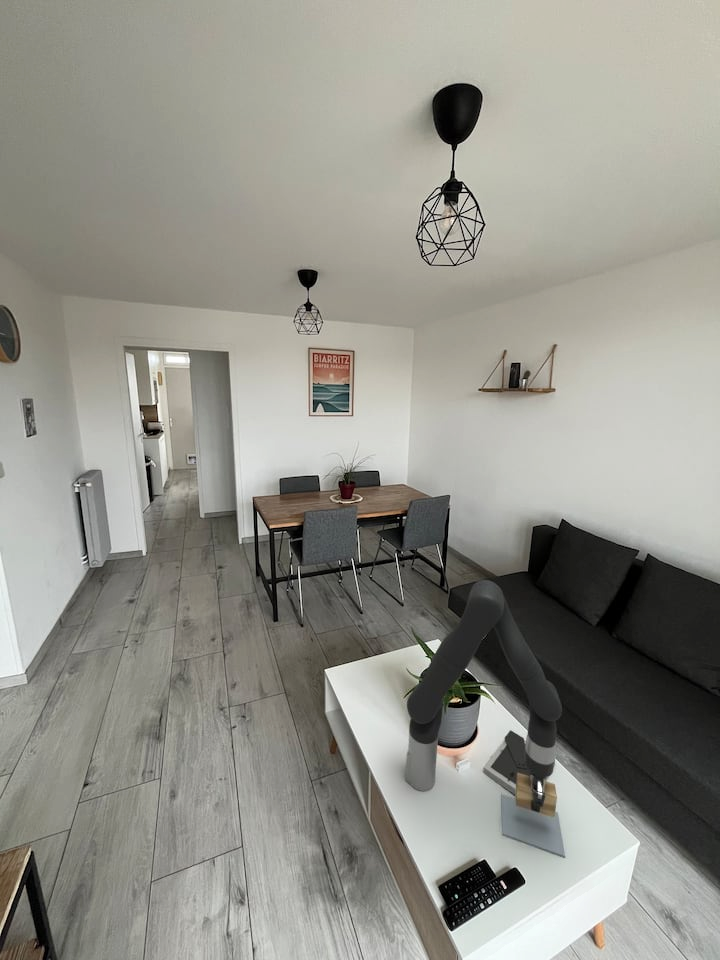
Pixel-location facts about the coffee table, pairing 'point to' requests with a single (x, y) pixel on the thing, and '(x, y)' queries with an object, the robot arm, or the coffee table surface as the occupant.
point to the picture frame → (508, 762)
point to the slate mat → (531, 827)
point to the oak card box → (525, 793)
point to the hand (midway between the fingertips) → (534, 802)
